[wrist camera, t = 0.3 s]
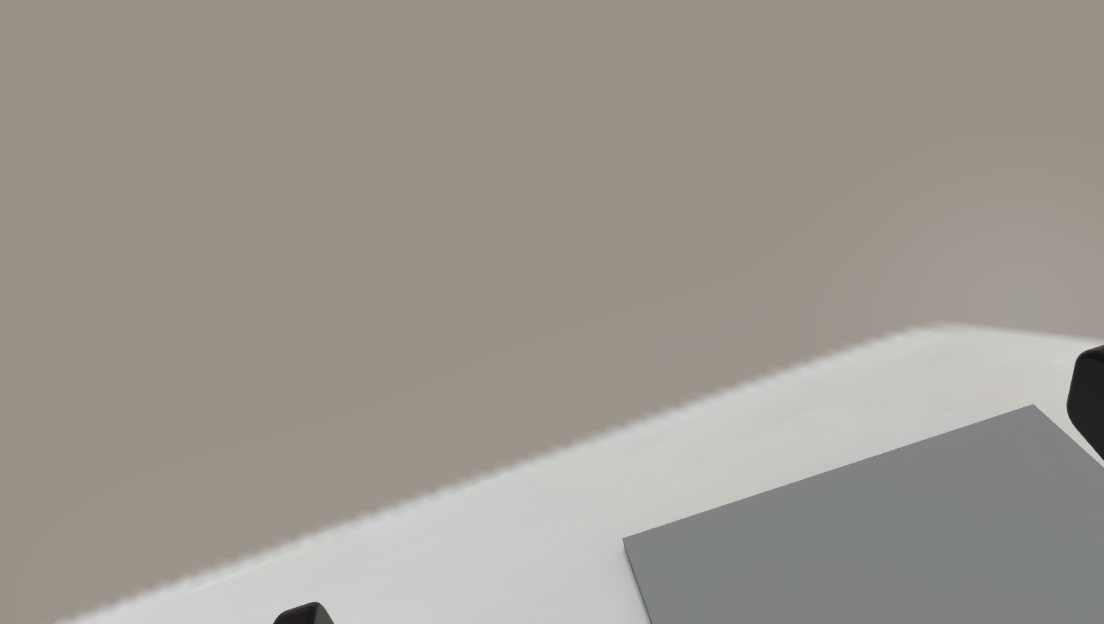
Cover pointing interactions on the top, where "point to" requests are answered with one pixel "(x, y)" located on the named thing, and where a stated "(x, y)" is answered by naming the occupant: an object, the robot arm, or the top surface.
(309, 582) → the top surface
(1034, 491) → the slate mat
